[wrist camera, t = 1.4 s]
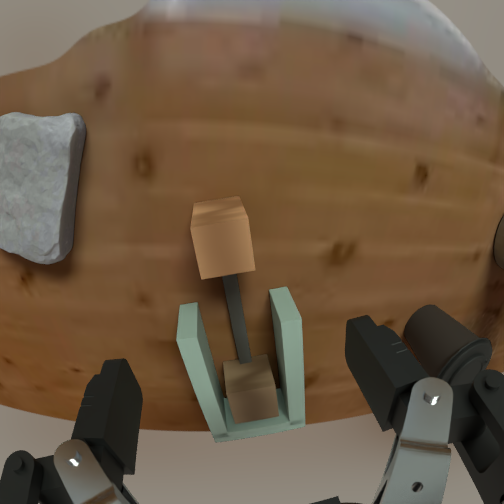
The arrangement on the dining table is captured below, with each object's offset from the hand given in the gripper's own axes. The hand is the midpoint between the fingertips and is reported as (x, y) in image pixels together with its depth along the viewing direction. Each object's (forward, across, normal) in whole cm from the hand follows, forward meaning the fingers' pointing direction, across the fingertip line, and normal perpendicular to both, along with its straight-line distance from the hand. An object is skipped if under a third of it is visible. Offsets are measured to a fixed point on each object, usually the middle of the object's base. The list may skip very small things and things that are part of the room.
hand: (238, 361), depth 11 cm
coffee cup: (+16, -21, +16) cm, 31 cm away
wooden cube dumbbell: (+16, 0, +9) cm, 18 cm away
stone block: (+16, +15, -7) cm, 23 cm away
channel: (+16, 0, +14) cm, 21 cm away
